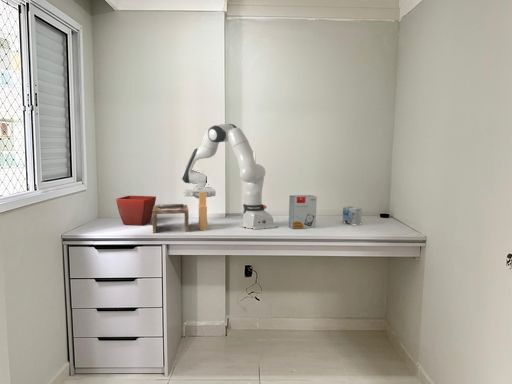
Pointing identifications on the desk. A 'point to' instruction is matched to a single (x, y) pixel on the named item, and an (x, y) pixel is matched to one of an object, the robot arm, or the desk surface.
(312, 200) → the hard drive box
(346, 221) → the light bulb box
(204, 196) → the tall tan upright block
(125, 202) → the plant pot
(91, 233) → the desk surface
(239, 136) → the robot arm
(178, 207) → the tan rectangular frame
